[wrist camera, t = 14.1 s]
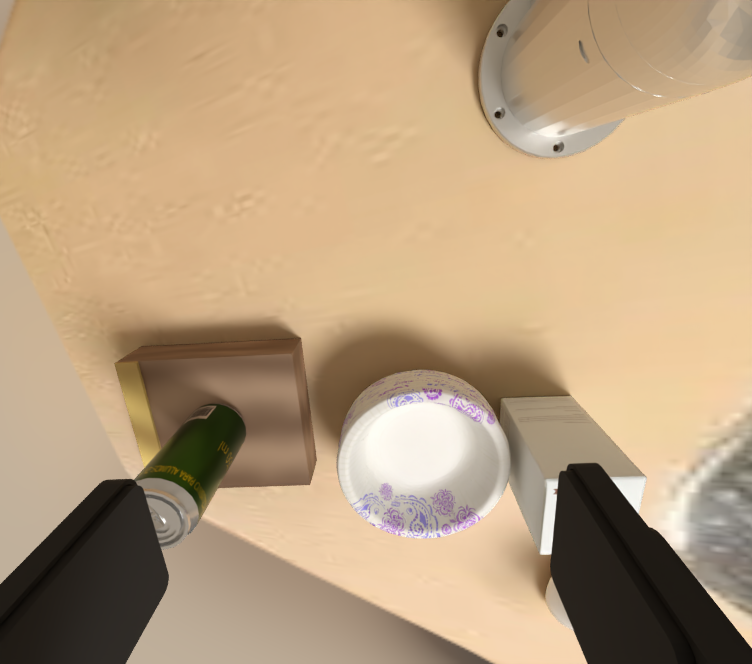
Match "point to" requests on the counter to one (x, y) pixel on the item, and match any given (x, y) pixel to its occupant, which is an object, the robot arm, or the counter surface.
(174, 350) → the gold striped gift box
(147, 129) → the counter surface
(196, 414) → the beer can
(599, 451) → the supplement box
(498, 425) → the paper bowls
